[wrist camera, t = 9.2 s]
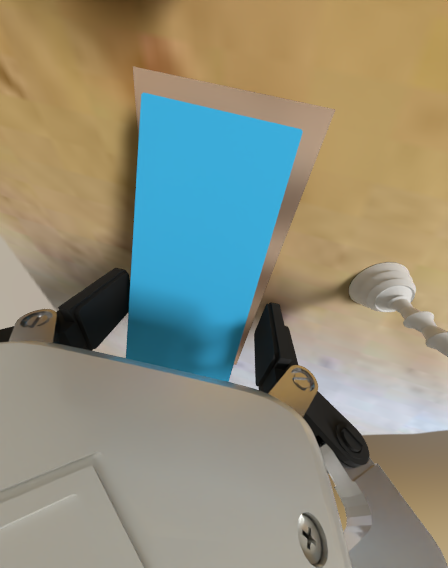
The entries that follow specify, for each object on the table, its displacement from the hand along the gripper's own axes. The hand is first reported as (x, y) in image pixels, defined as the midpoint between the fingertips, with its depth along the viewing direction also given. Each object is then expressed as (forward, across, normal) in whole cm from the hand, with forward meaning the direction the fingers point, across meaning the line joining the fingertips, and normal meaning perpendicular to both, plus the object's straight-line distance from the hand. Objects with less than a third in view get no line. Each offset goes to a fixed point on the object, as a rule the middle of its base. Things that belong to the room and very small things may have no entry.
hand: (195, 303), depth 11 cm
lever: (+3, 0, 0) cm, 4 cm away
